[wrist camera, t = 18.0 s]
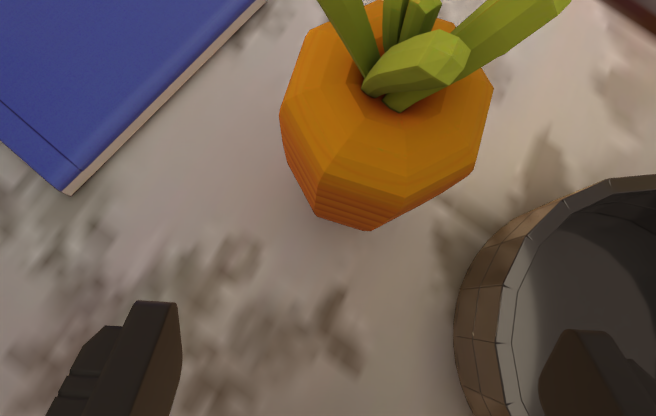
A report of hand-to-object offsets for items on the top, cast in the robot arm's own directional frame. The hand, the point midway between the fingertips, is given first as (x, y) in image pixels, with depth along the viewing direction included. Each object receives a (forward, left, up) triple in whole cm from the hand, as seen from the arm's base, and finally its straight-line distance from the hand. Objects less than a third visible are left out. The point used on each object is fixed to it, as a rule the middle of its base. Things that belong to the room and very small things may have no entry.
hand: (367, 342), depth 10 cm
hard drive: (-15, +6, -10) cm, 19 cm away
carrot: (-2, +5, -10) cm, 12 cm away
